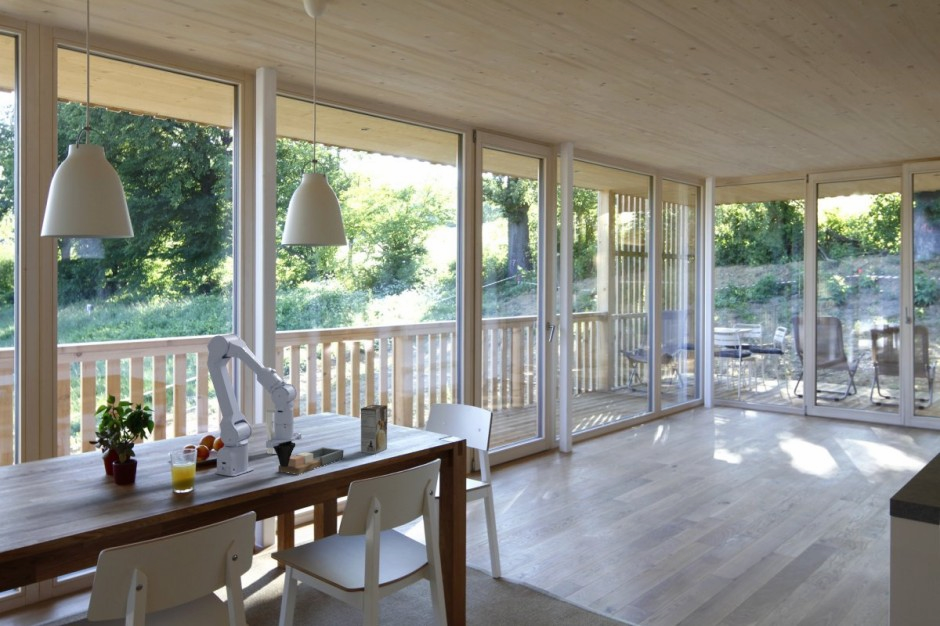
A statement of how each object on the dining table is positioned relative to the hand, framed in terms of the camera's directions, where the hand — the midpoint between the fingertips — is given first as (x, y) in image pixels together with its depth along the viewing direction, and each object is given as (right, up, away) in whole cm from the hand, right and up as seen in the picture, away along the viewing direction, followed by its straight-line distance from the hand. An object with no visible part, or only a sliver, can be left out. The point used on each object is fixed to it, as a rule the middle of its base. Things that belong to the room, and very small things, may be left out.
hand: (284, 466), depth 232 cm
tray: (+8, -2, +18) cm, 20 cm away
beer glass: (-10, -2, +30) cm, 31 cm away
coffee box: (+24, -2, +34) cm, 42 cm away
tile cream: (+4, 0, +9) cm, 10 cm away
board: (+3, -3, +7) cm, 9 cm away
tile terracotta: (+2, -1, +5) cm, 5 cm away
